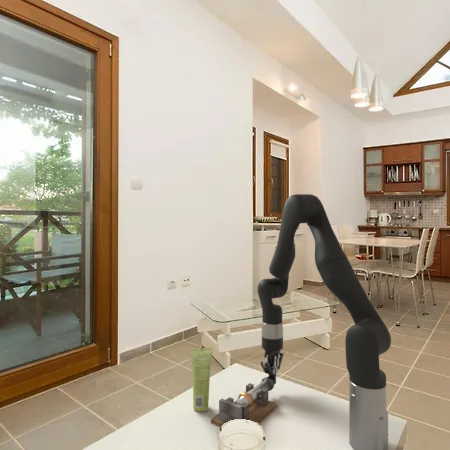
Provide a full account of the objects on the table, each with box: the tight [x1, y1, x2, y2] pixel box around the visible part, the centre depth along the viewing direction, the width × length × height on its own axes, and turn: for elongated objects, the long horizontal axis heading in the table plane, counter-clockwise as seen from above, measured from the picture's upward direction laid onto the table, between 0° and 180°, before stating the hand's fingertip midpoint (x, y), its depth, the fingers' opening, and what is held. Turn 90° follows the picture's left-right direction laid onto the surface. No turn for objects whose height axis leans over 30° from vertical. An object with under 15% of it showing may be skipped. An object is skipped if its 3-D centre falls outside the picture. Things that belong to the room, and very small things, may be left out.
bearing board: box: [210, 382, 278, 428], centre depth 111 cm, size 12×20×7 cm, turn 144°
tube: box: [189, 346, 214, 412], centre depth 115 cm, size 6×5×20 cm
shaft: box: [234, 376, 275, 408], centre depth 115 cm, size 5×19×5 cm, turn 144°
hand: (272, 383), depth 125 cm, fingers closed
